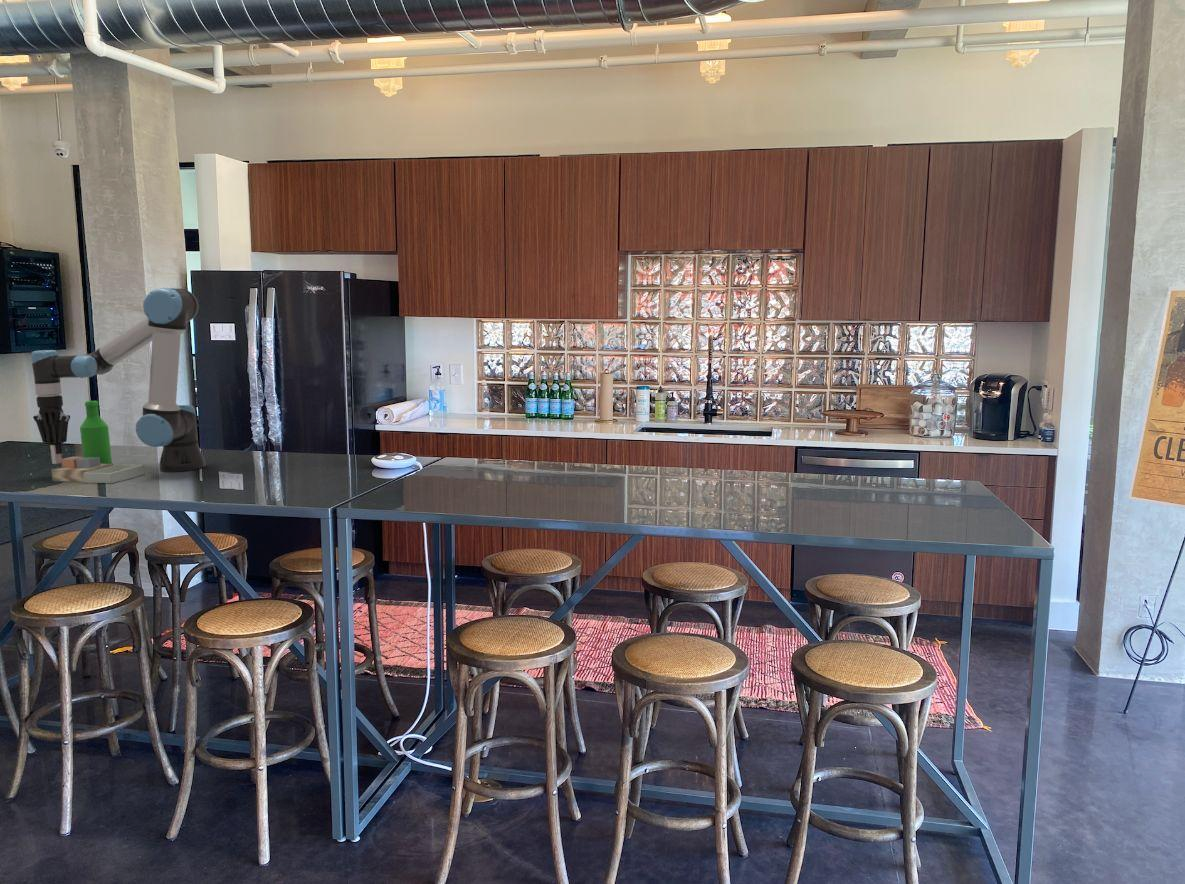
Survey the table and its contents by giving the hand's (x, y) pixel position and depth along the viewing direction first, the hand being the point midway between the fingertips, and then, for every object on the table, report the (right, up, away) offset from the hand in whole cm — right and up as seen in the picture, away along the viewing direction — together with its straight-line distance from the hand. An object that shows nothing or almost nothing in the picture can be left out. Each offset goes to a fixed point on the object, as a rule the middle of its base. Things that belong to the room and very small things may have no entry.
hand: (57, 463), depth 298 cm
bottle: (+5, -3, +16) cm, 17 cm away
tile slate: (+12, -1, -2) cm, 13 cm away
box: (+22, -5, -4) cm, 23 cm away
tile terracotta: (+6, -1, -1) cm, 7 cm away
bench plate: (+10, -5, -1) cm, 11 cm away
